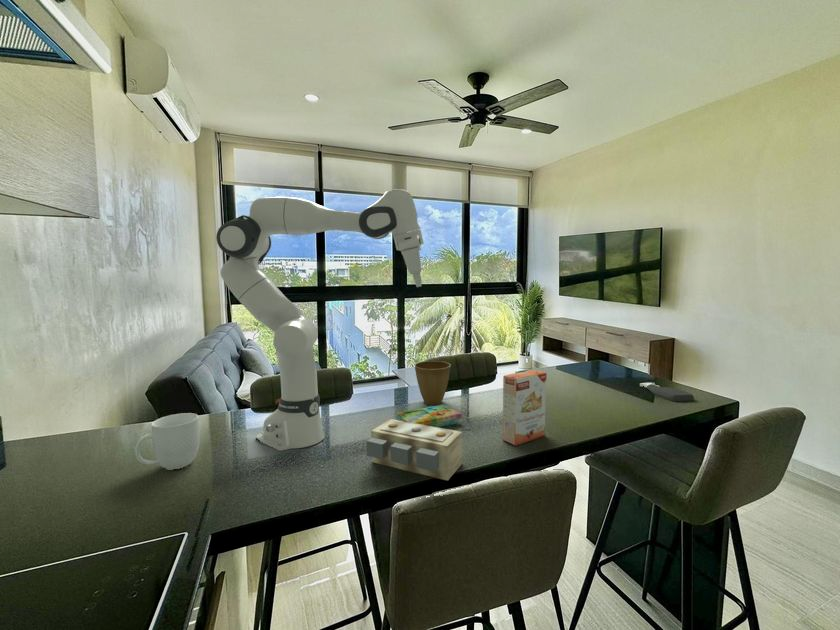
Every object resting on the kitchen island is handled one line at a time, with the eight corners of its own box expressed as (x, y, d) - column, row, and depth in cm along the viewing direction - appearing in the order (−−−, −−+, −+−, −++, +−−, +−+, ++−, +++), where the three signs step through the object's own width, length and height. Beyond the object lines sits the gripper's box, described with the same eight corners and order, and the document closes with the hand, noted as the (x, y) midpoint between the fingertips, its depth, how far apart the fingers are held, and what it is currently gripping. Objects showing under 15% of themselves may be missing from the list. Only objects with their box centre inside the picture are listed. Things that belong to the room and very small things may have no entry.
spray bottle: (671, 402, 153) (633, 387, 177) (697, 401, 154) (656, 386, 178) (671, 395, 153) (633, 381, 177) (697, 394, 153) (656, 380, 178)
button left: (366, 455, 101) (366, 441, 100) (372, 451, 103) (371, 437, 103) (382, 459, 98) (382, 444, 98) (387, 455, 101) (387, 440, 100)
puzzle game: (461, 411, 133) (410, 421, 124) (461, 424, 133) (410, 435, 124) (444, 402, 143) (396, 410, 134) (445, 414, 144) (396, 423, 135)
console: (372, 462, 105) (371, 429, 105) (391, 447, 114) (390, 417, 114) (447, 480, 95) (447, 444, 94) (462, 463, 104) (461, 430, 103)
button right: (416, 467, 94) (416, 451, 93) (421, 463, 96) (420, 447, 96) (434, 471, 91) (434, 455, 91) (439, 467, 94) (438, 451, 93)
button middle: (390, 461, 97) (390, 446, 97) (395, 457, 99) (395, 442, 99) (407, 465, 95) (407, 449, 95) (412, 461, 97) (412, 446, 97)
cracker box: (516, 447, 113) (516, 378, 112) (501, 440, 118) (501, 374, 117) (546, 436, 121) (547, 372, 119) (531, 430, 126) (532, 368, 124)
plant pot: (407, 402, 158) (407, 364, 157) (433, 394, 168) (432, 359, 167) (432, 410, 147) (432, 370, 146) (458, 402, 157) (458, 364, 156)
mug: (137, 484, 96) (133, 434, 95) (136, 467, 104) (133, 421, 103) (204, 466, 105) (201, 420, 104) (198, 452, 113) (195, 410, 112)
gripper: (400, 243, 129) (410, 282, 132) (397, 245, 109) (409, 291, 112) (418, 238, 129) (427, 278, 131) (418, 240, 109) (429, 286, 112)
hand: (419, 284), depth 121 cm, fingers open, 8 cm apart
